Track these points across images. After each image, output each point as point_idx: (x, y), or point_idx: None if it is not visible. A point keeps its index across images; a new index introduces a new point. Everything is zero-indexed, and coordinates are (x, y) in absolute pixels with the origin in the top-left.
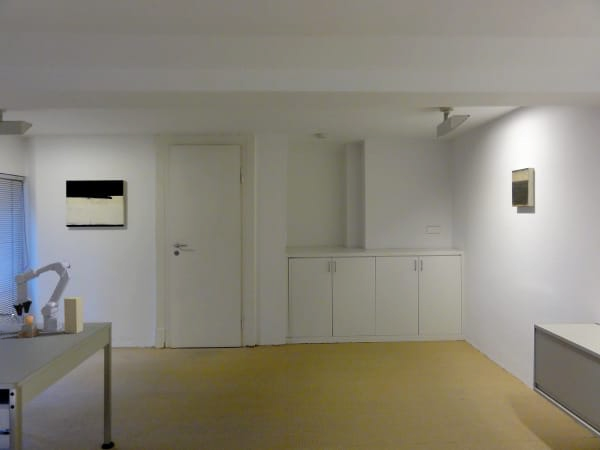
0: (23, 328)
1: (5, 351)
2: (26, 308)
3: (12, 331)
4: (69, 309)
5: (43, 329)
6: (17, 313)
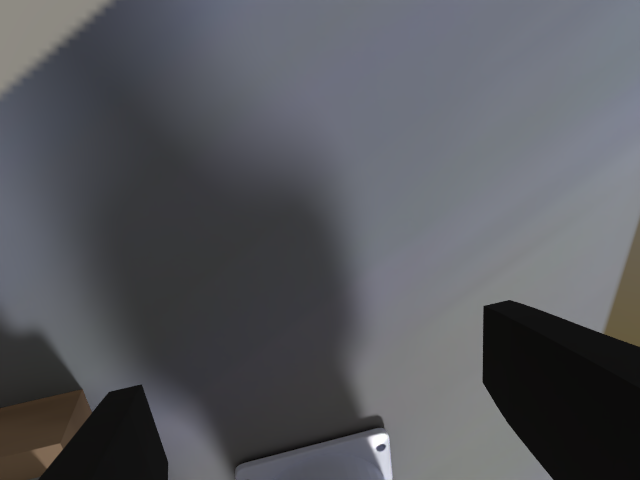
0: None
1: None
2: (588, 453)
3: (242, 45)
4: None
5: (289, 462)
6: (65, 463)
